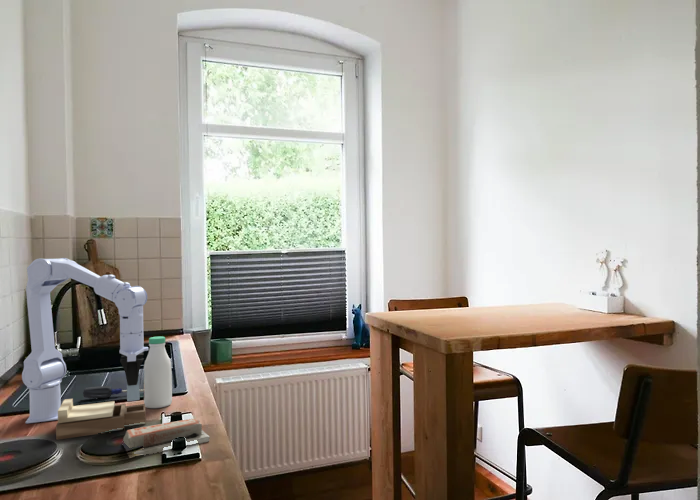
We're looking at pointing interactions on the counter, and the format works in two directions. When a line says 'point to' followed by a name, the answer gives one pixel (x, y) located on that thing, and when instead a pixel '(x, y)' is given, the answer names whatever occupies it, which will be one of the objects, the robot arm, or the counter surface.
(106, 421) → the wooden compartment box
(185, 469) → the counter surface
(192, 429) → the packaged product
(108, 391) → the screwdriver
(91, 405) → the lid
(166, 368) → the milk bottle
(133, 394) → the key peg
